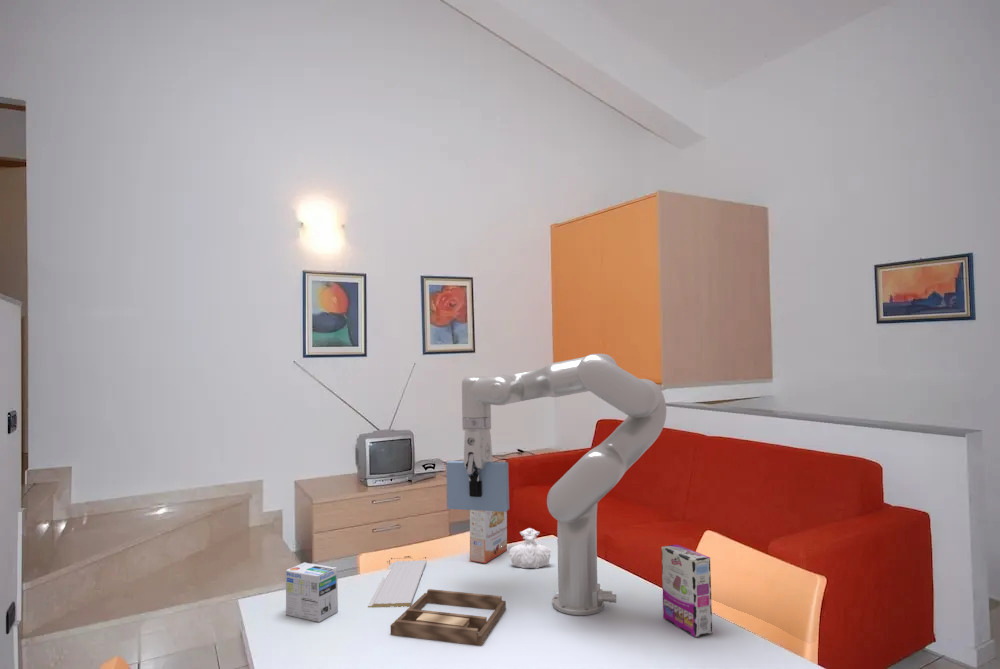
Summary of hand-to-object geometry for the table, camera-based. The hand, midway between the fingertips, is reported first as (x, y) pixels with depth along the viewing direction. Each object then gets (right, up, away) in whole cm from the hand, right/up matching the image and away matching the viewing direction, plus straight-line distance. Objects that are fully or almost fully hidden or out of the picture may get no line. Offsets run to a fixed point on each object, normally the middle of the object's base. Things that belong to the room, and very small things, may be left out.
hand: (478, 494), depth 156 cm
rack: (-5, -25, -17) cm, 30 cm away
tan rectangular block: (-7, -25, -24) cm, 35 cm away
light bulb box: (-39, -26, -12) cm, 49 cm away
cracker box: (+3, -27, +28) cm, 38 cm away
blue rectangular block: (0, -4, 0) cm, 4 cm away
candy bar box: (+48, -24, -22) cm, 58 cm away
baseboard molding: (-22, -27, +6) cm, 35 cm away
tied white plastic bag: (+15, -26, +19) cm, 35 cm away
